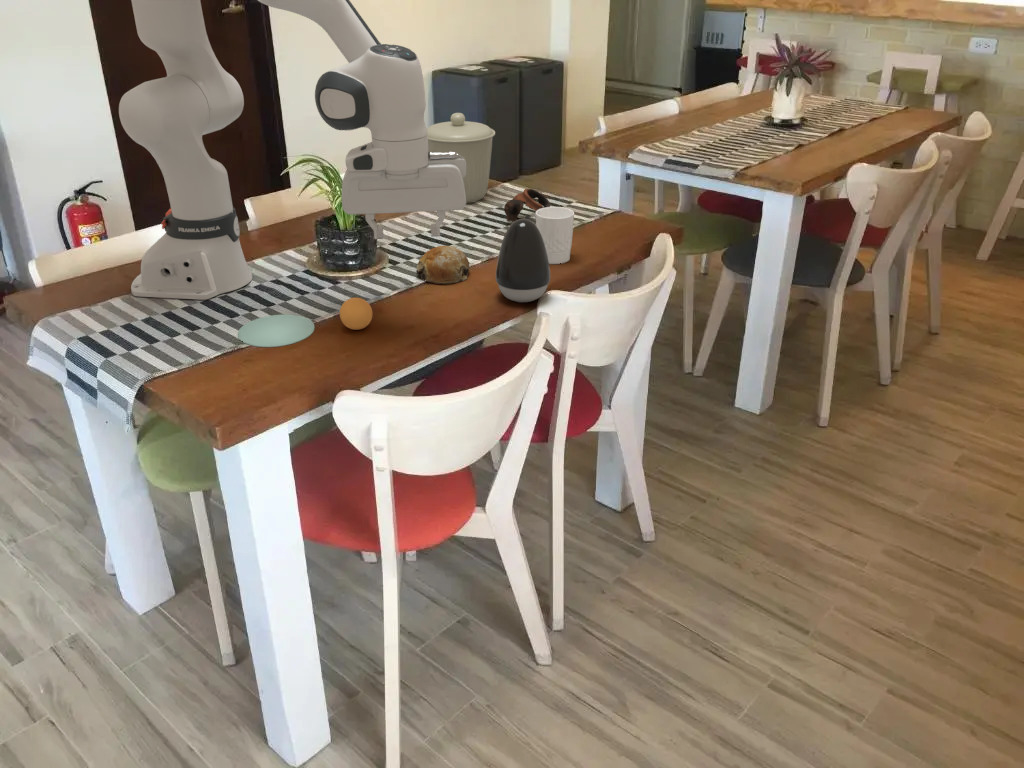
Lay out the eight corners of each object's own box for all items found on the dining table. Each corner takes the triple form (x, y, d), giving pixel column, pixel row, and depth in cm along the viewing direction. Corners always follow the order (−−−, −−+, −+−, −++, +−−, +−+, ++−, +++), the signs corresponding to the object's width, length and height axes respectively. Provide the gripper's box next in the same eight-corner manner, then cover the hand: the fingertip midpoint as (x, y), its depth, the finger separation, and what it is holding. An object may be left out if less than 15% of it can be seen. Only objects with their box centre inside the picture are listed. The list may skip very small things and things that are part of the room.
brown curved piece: (518, 213, 213) (536, 185, 209) (543, 238, 210) (561, 210, 206) (487, 212, 204) (505, 183, 200) (512, 238, 201) (531, 209, 196)
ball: (339, 335, 151) (336, 305, 149) (343, 322, 156) (340, 292, 154) (372, 334, 152) (369, 304, 149) (374, 321, 157) (372, 292, 154)
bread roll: (453, 303, 173) (469, 270, 169) (406, 279, 172) (421, 245, 168) (465, 285, 181) (481, 252, 177) (421, 261, 181) (435, 229, 177)
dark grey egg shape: (553, 288, 170) (554, 211, 163) (546, 309, 161) (547, 229, 154) (501, 285, 171) (500, 209, 164) (491, 306, 162) (490, 226, 155)
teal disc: (230, 348, 147) (230, 347, 147) (246, 316, 158) (246, 315, 158) (309, 345, 148) (309, 344, 148) (319, 314, 159) (318, 313, 159)
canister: (471, 213, 212) (468, 124, 202) (410, 202, 220) (405, 115, 210) (509, 194, 225) (508, 110, 215) (450, 184, 233) (447, 102, 223)
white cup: (578, 263, 182) (579, 216, 177) (541, 267, 180) (542, 220, 175) (565, 250, 188) (566, 205, 184) (530, 254, 186) (530, 208, 182)
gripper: (465, 146, 144) (468, 228, 150) (339, 151, 143) (348, 233, 149) (466, 155, 138) (470, 240, 145) (335, 161, 137) (345, 245, 143)
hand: (407, 236), depth 147 cm, fingers open, 8 cm apart
